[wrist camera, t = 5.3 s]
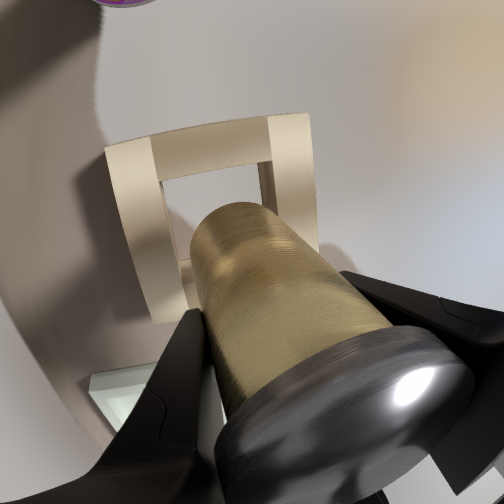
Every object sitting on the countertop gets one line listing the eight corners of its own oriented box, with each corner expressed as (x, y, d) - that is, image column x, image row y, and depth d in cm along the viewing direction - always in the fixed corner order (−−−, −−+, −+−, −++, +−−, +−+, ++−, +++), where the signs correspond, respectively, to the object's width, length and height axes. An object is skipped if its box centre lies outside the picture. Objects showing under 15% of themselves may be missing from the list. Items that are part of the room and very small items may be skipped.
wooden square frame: (300, 264, 22) (319, 285, 19) (154, 298, 20) (154, 325, 17) (287, 113, 17) (308, 112, 15) (114, 143, 16) (104, 147, 13)
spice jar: (313, 265, 14) (462, 430, 5) (218, 321, 14) (290, 532, 5) (266, 168, 12) (486, 300, 3) (155, 234, 11) (157, 491, 3)
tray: (268, 430, 29) (274, 445, 27) (147, 455, 26) (149, 470, 25) (253, 340, 23) (260, 357, 21) (91, 373, 21) (88, 392, 19)
